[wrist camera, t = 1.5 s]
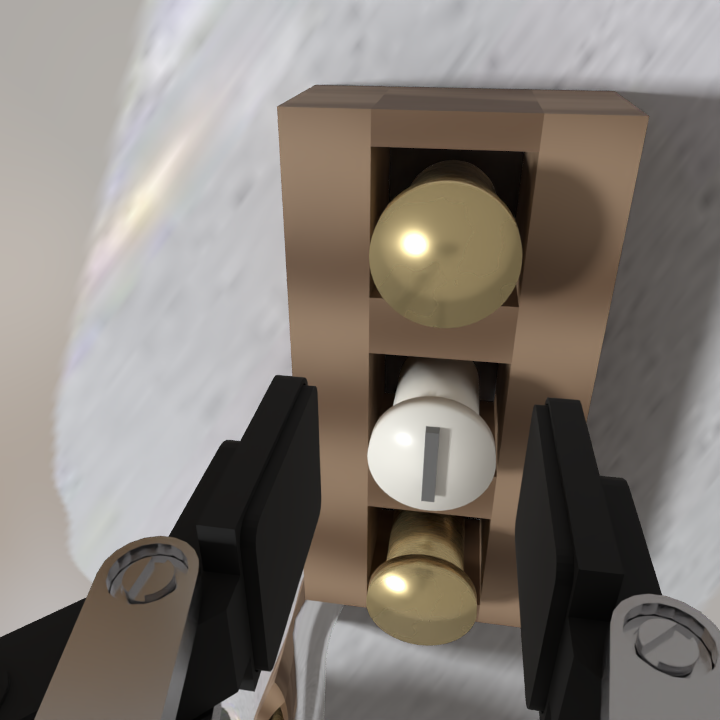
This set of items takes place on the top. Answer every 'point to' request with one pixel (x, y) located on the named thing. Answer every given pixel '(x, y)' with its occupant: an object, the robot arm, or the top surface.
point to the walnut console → (471, 342)
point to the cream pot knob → (433, 437)
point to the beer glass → (292, 668)
